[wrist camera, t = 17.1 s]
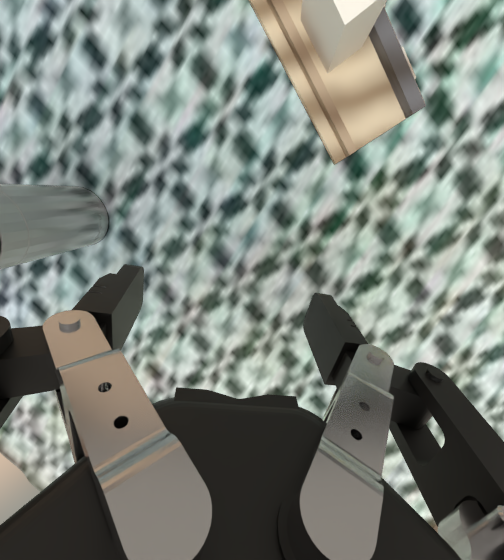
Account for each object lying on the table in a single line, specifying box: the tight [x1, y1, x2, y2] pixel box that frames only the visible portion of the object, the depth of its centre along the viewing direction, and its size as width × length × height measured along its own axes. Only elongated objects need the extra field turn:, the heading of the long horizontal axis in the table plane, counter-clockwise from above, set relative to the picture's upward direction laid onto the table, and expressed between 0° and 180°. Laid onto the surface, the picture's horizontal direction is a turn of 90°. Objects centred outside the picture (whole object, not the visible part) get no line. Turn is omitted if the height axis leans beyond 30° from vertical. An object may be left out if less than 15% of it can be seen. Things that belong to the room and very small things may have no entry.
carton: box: [301, 0, 387, 74], centre depth 27 cm, size 4×6×10 cm
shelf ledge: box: [249, 0, 426, 165], centre depth 31 cm, size 26×12×3 cm, turn 33°
